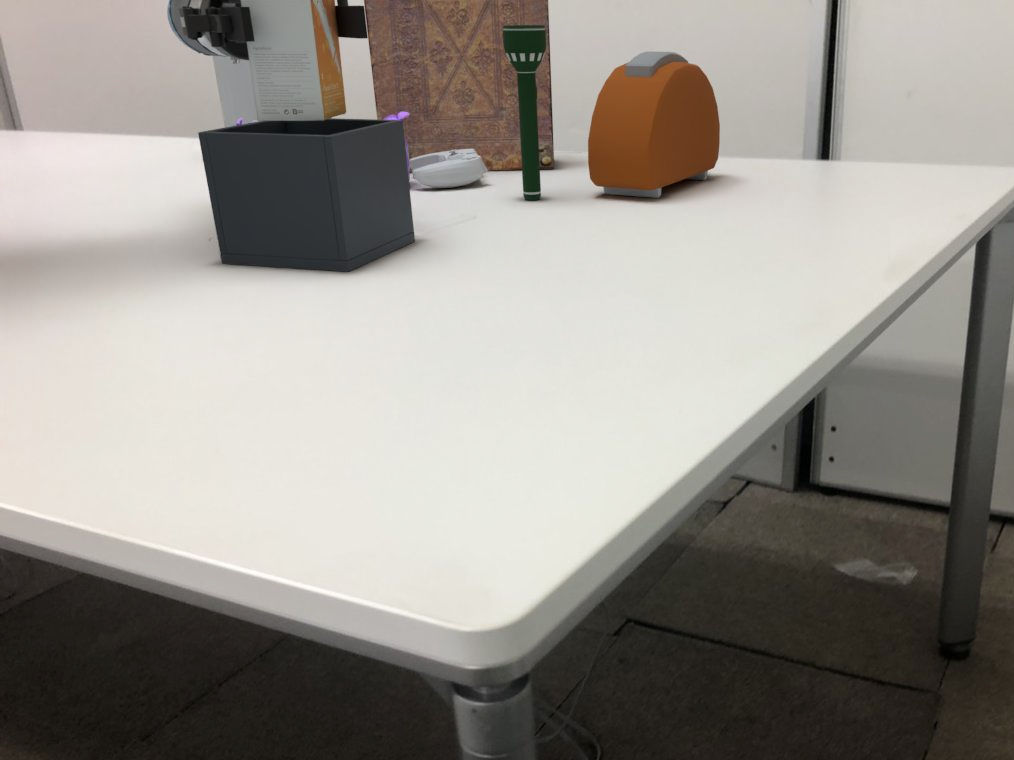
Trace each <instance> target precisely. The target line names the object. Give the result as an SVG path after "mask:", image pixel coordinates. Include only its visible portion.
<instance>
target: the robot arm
mask: <svg viewBox="0 0 1014 760" xmlns="http://www.w3.org/2000/svg"><path fill="white" fill-rule="evenodd" d="M336 3H337V5H335V9H336V18H337V28H338V38H345V39H358V40H359V39H362V40H363V39H368V32H367V23H366V14H365V5H349V1H348V0H336ZM166 11H167V12H166V15H167V20H168V24H169V27H170V29H171V30H172V32H173V34H174V35H175V37H176V38H177V39H178V40H179V41H180V42H181V43H182V44H183V45H184V46H186V47H187V48H189V49H191V50H193V51H195V52H196V53H198V54H202V55H204V56H209V57H212V56H222V57H230V59H231V62H232V63H233V64H238V63H240V59H242V60H249V55H248V48H247V42H252V41H255V40H254V34H253V28H252V21H251V15H250V8H249V7H241V0H168V3H167V9H166Z"/></svg>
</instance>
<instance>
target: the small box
mask: <svg viewBox="0 0 1014 760" xmlns="http://www.w3.org/2000/svg"><path fill="white" fill-rule="evenodd" d="M335 6H336V0H241V7H249V8H250V15H251V21H252V28H253V34H254V40H255V41H252V42H247V48H248V55H249V62H250V69H251V76H252V84H253V92H254V99H255V106H256V113H257V120H259V121H324V120H326V119H328V118H331V117H332V118H335V117H338V116H342V115H345V114H346V113H347V105H346V96H345V86H344V78H343V69H342V68H343V67H342V58H341V49H340V40H339V39H340V37H338V28H337V18H336V9H335Z"/></svg>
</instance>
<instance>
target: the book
mask: <svg viewBox="0 0 1014 760" xmlns="http://www.w3.org/2000/svg"><path fill="white" fill-rule="evenodd" d="M363 3H364V5H363V6H364V10H365V19H366V28H367V37H368V38H367V40H368V41H367V42H368V48H369V59H370V67H371V75H372V83H373V84H372V86H373V94H374V103H375V111H376V120H383V119H384V118H386V117H388V116H389V115H396V116H397V115H398V113H400V112H408V113H409V116H408V117H405V118H403V119H402V121H403V123H404V135H405V139H406V142H407V146H408V152H409V160H410V159H412V158H415V157H418V156H422V155H426V154H431V153H437V152H444V151H451V150H454V149H457V150H460V149H475V151H476V153H477V154H478V156H479V155H480V156H481V160H482V161H483V163H484V165H485V166H486V168H487V169H488V171H513V170H514V171H515V170H518V171H519V170H521V171H522V159H521V140H520V121H519V102H518V83H517V71H516V70H515V68H514V67H513V65H512V64H511V63H510V61H509V60H508V58H507V56H506V53H505V50H504V46H503V26H513V25H543V26H545V30H546V50H545V54H544V57H543V60H542V61H541V63H540V65H539V66H538V68H537V70H536V71H535V74H536V87H537V118H538V140H539V162H540V170H551V169H554V168H555V152H554V151H555V148H554V146H555V145H554V121H553V94H552V91H553V90H552V69H551V68H552V67H551V66H552V65H551V64H552V63H551V42H550V41H551V39H550V13H549V12H550V11H549V10H550V9H549V0H363ZM409 173H412V169H411V168H410V169H409Z"/></svg>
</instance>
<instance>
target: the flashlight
mask: <svg viewBox="0 0 1014 760" xmlns="http://www.w3.org/2000/svg"><path fill="white" fill-rule="evenodd" d="M503 46H504V50H505V53H506V56H507V58H508V60H509V61H510V63H511V64H512V65H513V67H514V68H515V70H516V71H517V83H518V102H519V121H520V140H521V159H522V170H521V176H522V192H523V193H522V194H523V195H522V196H523V198H524V200H526V201H538V200H540V199H541V198H542V193H541V191H542V188H541V187H542V186H541V169H540V162H539V140H538V118H537V87H536V74H535V71H536V70H537V68H538V66H539V65H540V63H541V61H542V60H543V57H544V54H545V50H546V30H545V26H543V25H513V26H503Z"/></svg>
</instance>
